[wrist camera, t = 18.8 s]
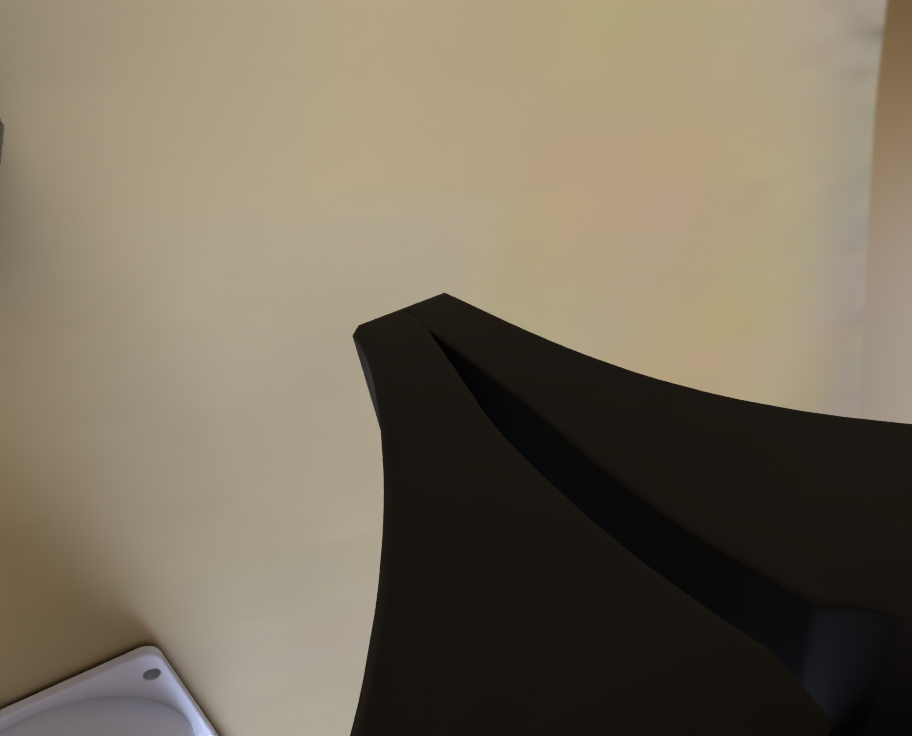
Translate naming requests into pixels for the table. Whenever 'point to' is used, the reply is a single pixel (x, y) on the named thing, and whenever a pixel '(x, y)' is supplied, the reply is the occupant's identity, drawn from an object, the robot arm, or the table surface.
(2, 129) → the bin
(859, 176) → the table surface
